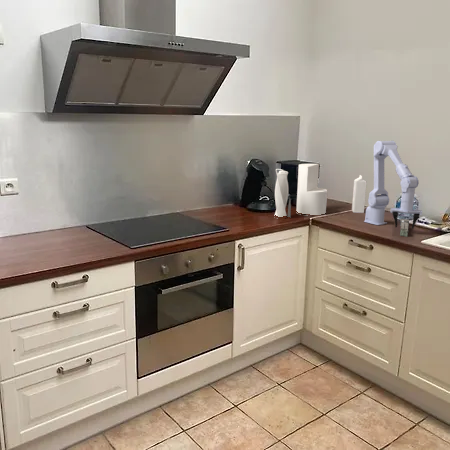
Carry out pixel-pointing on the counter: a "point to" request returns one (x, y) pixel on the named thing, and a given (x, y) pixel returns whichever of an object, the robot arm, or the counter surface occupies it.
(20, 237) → the counter surface
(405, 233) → the arm
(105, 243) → the counter surface
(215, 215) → the counter surface
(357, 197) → the milk
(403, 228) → the bar
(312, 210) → the white stepped block
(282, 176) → the skyscraper
